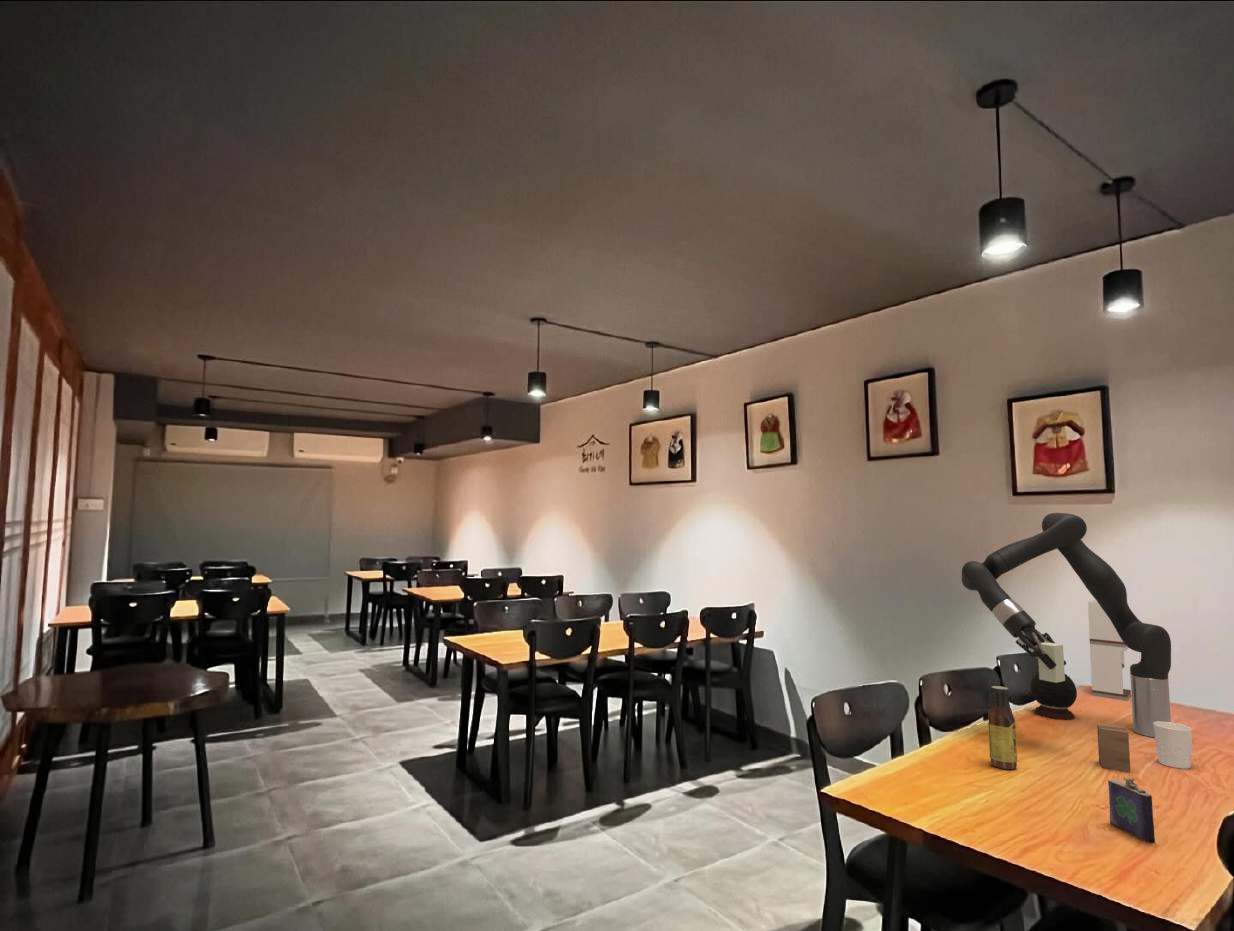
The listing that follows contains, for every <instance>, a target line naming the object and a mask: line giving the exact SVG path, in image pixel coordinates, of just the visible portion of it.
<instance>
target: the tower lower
mask: <svg viewBox="0 0 1234 931" xmlns="http://www.w3.org/2000/svg"><path fill="white" fill-rule="evenodd" d="M1097 745H1098V746H1097V747H1098V748H1097V749H1098V751H1097V752H1098V762H1099V765H1100V767H1101V769H1103V770H1108V771H1109V770H1110V771H1116V772H1124V773H1128V774H1131V773H1132V772H1131V757H1130V755H1131V754H1130V752H1129V753H1128V752H1121V751H1115V750H1108V749H1101V748H1100V746H1099V744H1098V743H1097Z"/></svg>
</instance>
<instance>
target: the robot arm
mask: <svg viewBox="0 0 1234 931" xmlns="http://www.w3.org/2000/svg"><path fill="white" fill-rule="evenodd" d="M1041 530H1042V531H1041V532H1040V533H1038V534H1035V535H1033V536H1030V537H1027V538H1024V539H1020V540H1019V541H1015V542H1012V543H1010V544H1007V545H1005V546H1002V547H1001V548H999V549H997V550H995V551H993V552H992V553H990V554H988V555H987V556H986V558H985V559H984V561H983V562H982V563H981V562H980V561H977V560H976V561H975V560H971V561H967V562H965V563H964V565H962V568H961V584H962V585H963V587H965V588H966V589H968V590H969V591H977V592H978V594H979V598H980V600H981V602H982V604H984V605H985V606H986V607H987V609H988V610H989V612H991V613H992V614H993V616H994V617H995V619H996V620H997V621H998V622H999V623H1000V624H1001V625H1002V626H1003V627H1004V629H1005V630H1006V631H1007V632H1008V633H1009V634H1010V635H1011V636H1012V637H1013V638H1015V639H1017V640H1015V643H1016V644H1017V645H1018V646H1019V647H1020V648H1021V649H1023V650H1024V651H1025V653H1027V654H1028V655H1029V656H1030V657H1032V658H1036V659H1037V660H1038V659H1041V660H1042V662H1043V663H1044V664H1045V665H1046V666H1047V667H1048V668H1049V669H1053V668H1054V667H1056V663H1055V662H1054V661H1053V660H1052V659H1051V658H1050V657H1049V656H1048V655H1047V654H1046V653H1045V651H1044V650H1043V649H1042V648H1041V645H1040V644H1041V643H1055V642H1056V641H1054V639H1053V638H1052V637H1051V636H1050V634H1049V633H1048V632H1045V633H1042V632H1040V631H1039V630H1038V629H1036V625H1037V623H1036V621H1035V620H1034V619H1033V618H1032V617H1031V616H1030V615H1029V614H1028V612H1027V611H1025V610H1024V608H1023V607H1022V606H1020V604H1018V602H1016V601H1015V599H1013V598H1012V597H1011V596H1010V595H1009V594H1008V593H1007V592H1006V591H1005V590H1004V589H1003V588H1002V587H1001V585H1000V584H999V583H998V581H997V580H998V579H999V578H1000V577H1001V576H1002V575H1004V574H1006V573H1008V572H1010V571H1012V570H1014V569H1016V568H1018V567H1019V566H1022V565H1024V564H1026V563H1027V562H1029V561H1031V560H1033V559H1035V558H1038V557H1040V556H1042V555H1044V554H1046V553H1050V552H1052V551H1054V550H1058V551H1059V552H1060V554H1061V555H1062V556H1063V557H1064V559H1065V560H1066V561H1067V562H1068V563H1069V565H1070V566H1071V568H1072V570H1073V571H1074V572H1075V573H1076V575H1077V576H1078V578H1079V579H1080V581H1081V582H1082V584H1083V585H1084V587H1085V588H1086V589H1087V591H1088V592H1089V593H1090V595H1091V596H1092V597H1093V598H1094V600H1095V602H1098V603H1099V605H1100V606H1101V608H1102V609H1103V610H1104V612H1105V613H1106V615H1107V616H1108V617H1109V619H1110V620H1111V622H1112V624H1113V625H1114V627H1115V629H1116V631H1117V632H1118V634H1119V636H1120V638H1121V639H1122V641H1123V642H1124V644H1125V645H1126V646H1127V647H1128V649H1130V650H1131V651H1134V652H1137V653H1140V661H1138V662H1137V663H1133V664H1130V666H1129V676H1130V677H1129V678H1130V690H1131V696H1130V698H1131V711H1132V712H1131V714H1132V718H1131V719H1132V731H1133V732H1134V733H1137V734H1138V735H1142V736H1146V737H1150V738H1155V734H1154V725H1153V723H1154V722H1171V721H1172V719H1171V704H1170V703H1171V700H1170V687H1169V686H1170V684H1169V674H1170V671H1171V668H1172V641H1171V637H1170V634H1169V633H1168V631H1167V630H1166V629H1165V628H1164V627H1162V626H1160V625H1157V624H1152V623H1151V624H1150V623H1145V622H1142V621H1141V620H1140V619H1139V618H1138V617H1137V616H1136V614H1135V613H1134V612H1133V611H1132V610H1131V608H1130V606H1129V604H1128V593H1127V587H1126V585H1125V583H1124V582H1123V581H1122V579H1121V577H1119V575H1118V574H1117V572H1116V571H1115V569H1113V567H1112V566H1111V565H1110V564H1108V563H1107V561H1106V560H1104V559H1103V558H1101V556H1099V555H1098V554H1096V553H1095V552H1094V551H1093V550H1091V548H1089V547H1088V546H1087V545H1086V543H1084V541H1083V540H1082V539H1083V538H1084V537H1085V536H1086V535H1087V534H1086V533H1087V531H1088V530H1087V523H1086V522H1085V520H1084V519H1083V518H1082V517H1080V516H1078V515H1076V514H1073V513H1072V514H1071V513H1066V512H1065V513H1064V512H1052V513H1048V514H1046V515H1045V516H1044V518H1043V519H1042V521H1041ZM1055 644H1056V643H1055ZM1038 649H1039V650H1038ZM1066 665H1067V661H1066V660H1065V659H1064V667H1065V666H1066ZM1171 723H1172V722H1171Z"/></svg>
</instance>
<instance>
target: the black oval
mask: <svg viewBox="0 0 1234 931" xmlns="http://www.w3.org/2000/svg"><path fill="white" fill-rule="evenodd" d="M1030 680H1031V681H1030V686H1029V688H1030V692H1031V695H1032V696H1033V698H1034V700H1035V701H1036V702H1037V703H1038V704H1039V706H1037V707H1036V708H1034V714H1035V715H1037V716H1040V717H1043V718H1047V719H1051V720H1061V721H1071V720H1074V719H1075V715H1074V714H1073V712H1072V711H1071V710H1069V709H1068V708H1071V707H1072V706H1073V705H1074V703H1075V702H1076V700H1077V696H1078V691H1077V686H1076V684H1075V682H1074V681H1073V679H1072V678H1071V677H1070V676H1068V675H1067V674H1066V673H1065V681H1062V682H1057V683H1055V682H1050V681H1045V680H1040V679H1039V671H1038V672H1036V673H1035V674H1034V675H1033V677H1032V678H1031V679H1030Z"/></svg>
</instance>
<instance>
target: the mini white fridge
mask: <svg viewBox="0 0 1234 931" xmlns="http://www.w3.org/2000/svg"><path fill="white" fill-rule="evenodd" d="M1087 611H1088V612H1087V614H1088V615H1087V616H1088V630H1089V631H1088V632H1089V634H1088V638H1089V653H1090V654H1089V657H1090V678H1091V695H1092V696H1093V697H1100V698H1107V699H1114V700H1121V701H1125V702H1126V701H1129V699H1130V698H1131V689H1128V688H1127V689H1126V688H1124V679H1123V669H1124V668H1125V666H1126V665H1125V652H1126V651H1127V650H1128V649H1129V648H1128V647H1127V646H1126V645H1125V644H1124V642H1123V641H1122V639H1121V638H1120V636H1119V634H1118V632H1117V631H1116V629H1115V627H1114V625H1113V624H1112V622H1111V620H1110V619H1109V617H1108V616H1107V615H1106V613H1105V612H1104V610H1103V609H1102V608H1101V606H1100V605H1099V603H1098V602H1097V601H1096V599H1091V600H1089V601H1087Z"/></svg>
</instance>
